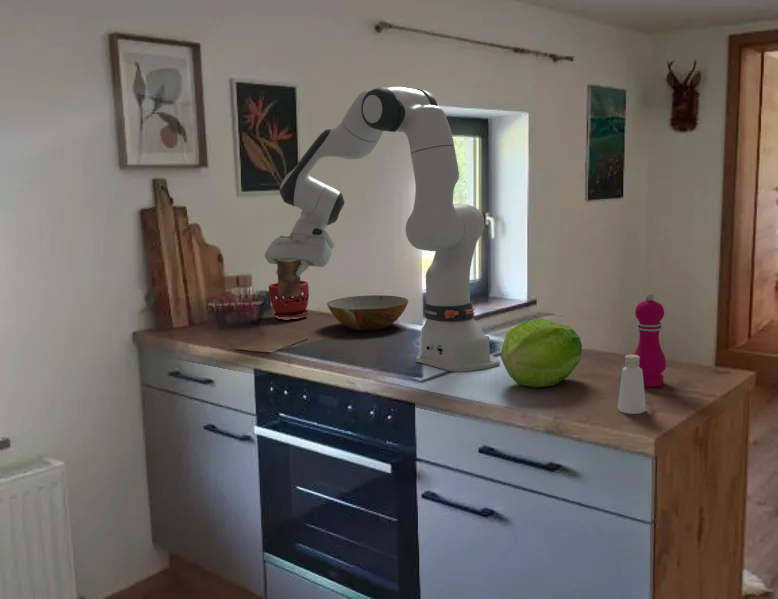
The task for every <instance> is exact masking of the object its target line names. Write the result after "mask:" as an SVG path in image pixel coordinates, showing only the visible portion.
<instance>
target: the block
mask: <svg viewBox="0 0 778 599" xmlns="http://www.w3.org/2000/svg"><path fill="white" fill-rule="evenodd" d="M276 265H277V267H276V268H277V269H276V271H277V270H278V275H277V283H278V292H279V296H285V297H292V298H293V297H294V296H298V295H301V287H300V281H301V276H300V277H295V276H294V274H293V272H294V270H295V269H298V268H299V267H300V262H299V260H298V259H288V258H285V259H280V260H277V264H276Z"/></svg>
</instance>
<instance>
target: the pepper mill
mask: <svg viewBox="0 0 778 599" xmlns="http://www.w3.org/2000/svg"><path fill="white" fill-rule="evenodd" d="M634 314H635V315H634V316H635V318H636V319H637V320H638V322H637V324H636V325H637V327H636V328H637V330H638V331H639V339H638V343H637V344H638V345H637V347H636V349H635V351H634V353H633V355H638V356H639V357H640V360H639V361H640V362H639V367H640V368H641V369H642V372H643V382H644V388H646V387H647V388H654V387H655V388H656V387H660V386H662V385H663V384H664V374H662V373H663V372H664V371H665V370H666V367H667V360H666V356H665V354H664V352H663V349H662V347H661V344H660V331H661V330H662V325H663V324H662V323H661V321H662V320H663V318H664V316H665V309H664V306H663V305H662V304H661V302H658V301H656V300H655V296H654V294H653V293H647V294H646V295H645V300H643V301H641V302H639V303H638V304H637V306H636V307H635V310H634Z"/></svg>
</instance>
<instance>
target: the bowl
mask: <svg viewBox="0 0 778 599" xmlns="http://www.w3.org/2000/svg"><path fill="white" fill-rule="evenodd" d="M408 304H409V299H408V298H405V297H401V296H397V295H386V294H385V295H382V294H381V295H380V294H379V295H377V294H375V295H374V294H373V295H372V294H371V295H355V296H354V295H353V296H347V297H342V298H336V299H333V300H330V301H329V302H327V303H326V305H327V308H328V309H329V311H330V313H331V314H332V315H333V317H334V318H335V319H336V320H337V321H339V323H341V324H342V325H344V326H346V327H347V328H349V329H351V330H353V329H355V330H354V331H357V330H361V331H360V332H371V331H380V330H385V329H386V328H388V327H389V326H391V325H393V323H395V322H396V321H397V320H398V319H399V318H400V317H401V316H402V314H403V313H404V312H405V310H406V308H407V306H408Z"/></svg>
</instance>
